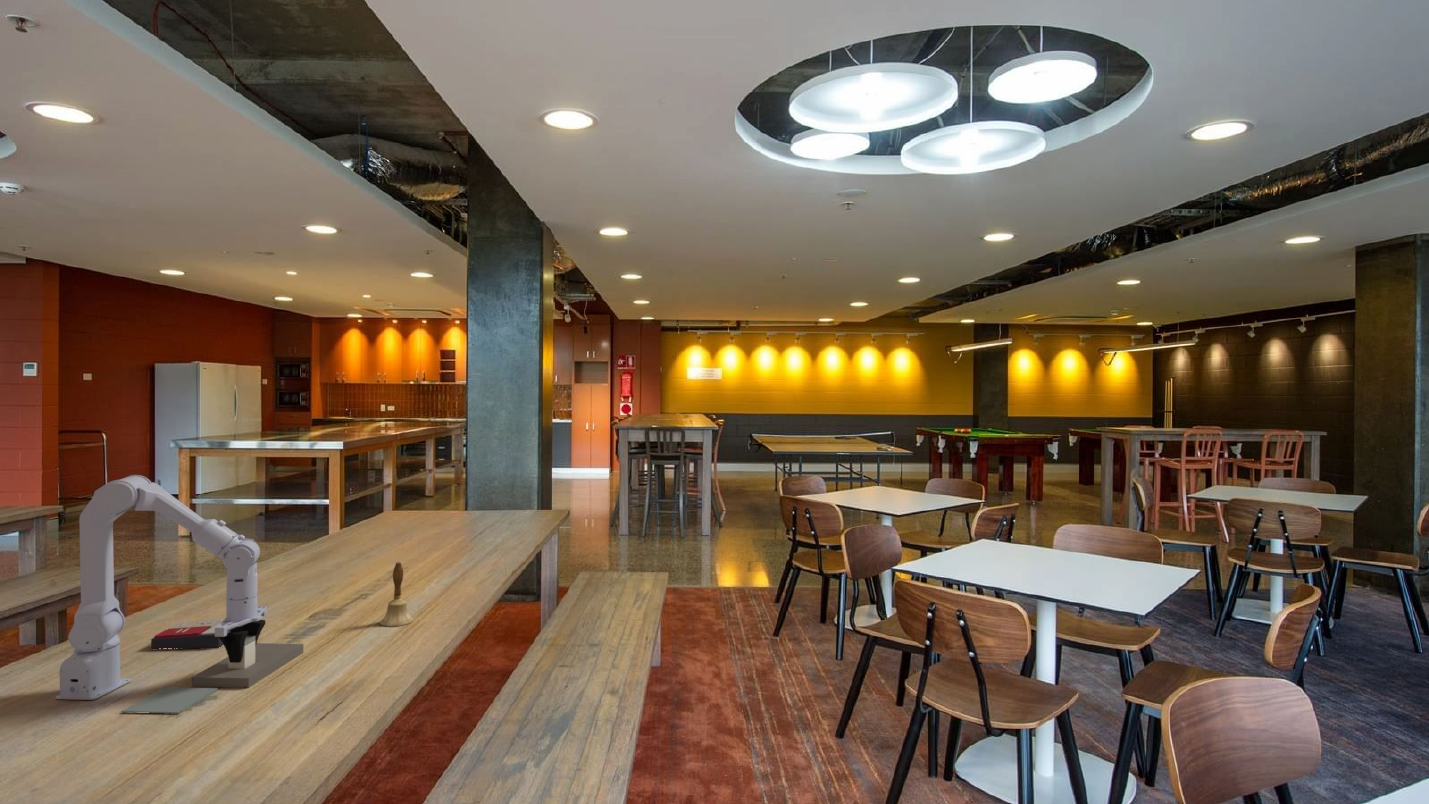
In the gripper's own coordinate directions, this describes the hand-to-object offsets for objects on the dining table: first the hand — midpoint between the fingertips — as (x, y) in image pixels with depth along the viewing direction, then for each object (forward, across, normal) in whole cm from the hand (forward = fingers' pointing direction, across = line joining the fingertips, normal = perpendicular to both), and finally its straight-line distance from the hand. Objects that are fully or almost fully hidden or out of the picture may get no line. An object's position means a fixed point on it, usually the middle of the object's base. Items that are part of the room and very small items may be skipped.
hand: (241, 658), depth 159 cm
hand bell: (+4, +36, -18) cm, 41 cm away
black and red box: (+4, +19, +23) cm, 30 cm away
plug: (+3, 0, 0) cm, 3 cm away
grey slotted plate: (+3, +3, 0) cm, 5 cm away
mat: (+3, -14, +5) cm, 15 cm away
